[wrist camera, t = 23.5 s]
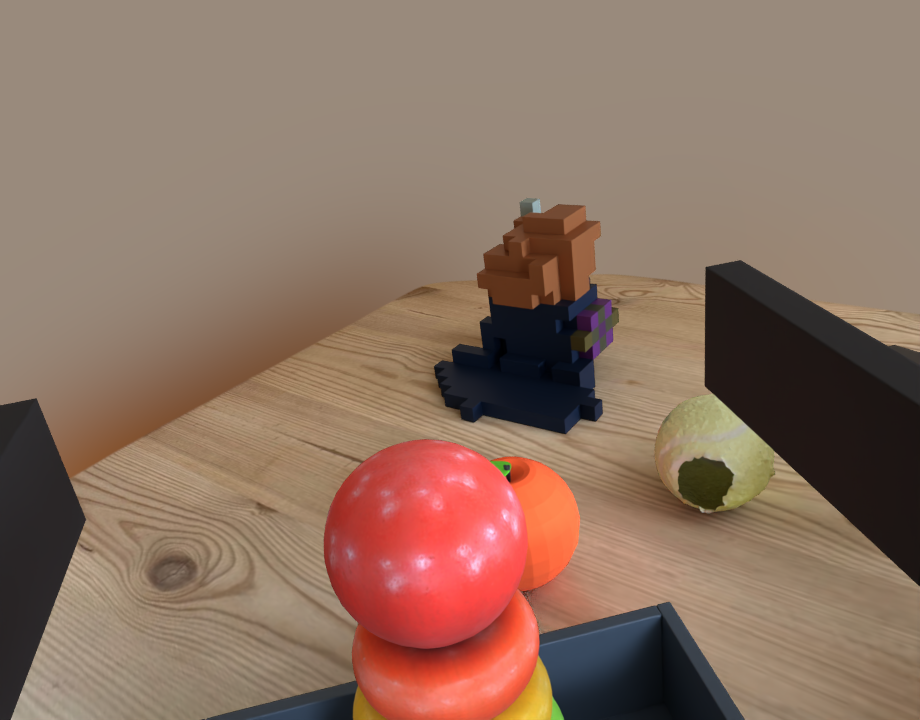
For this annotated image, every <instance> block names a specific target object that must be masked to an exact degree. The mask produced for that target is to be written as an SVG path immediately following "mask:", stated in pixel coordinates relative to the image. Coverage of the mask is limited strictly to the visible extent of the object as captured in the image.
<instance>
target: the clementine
mask: <svg viewBox="0 0 920 720" xmlns="http://www.w3.org/2000/svg"><path fill="white" fill-rule="evenodd" d="M490 462H491V463H492V464H493V465H494V466H496V467H497V468H498V469H499V470H500V471H501V473H502V474H503V475H504V476H505V477H506V479H507V480H508V482H509V483H510V485H511V486H512V488H513V489H514V491H515V493H516V495H517V497H518V499H519V501H520V503H521V506H522V509H523V512H524V515H525V520H526V527H527V537H528V548H527V555H526V563H525V568H524V572H523V575H522V578H521V580H520V583H519V586H518V588H517V589H518V590H519V591H527V590H532V589H535V588H537V587H540V586H543V585H544V584H546V583H548V582H549V581H551V580H552V579H553V578H555V577H556V576H557V575H558V574H559V573H560V572H561V571H562V570H563V569H564V568H565V567H566V566H567V565H568V563H569V561H570V559H571V557H572V555H573V552H574V550H575V548H576V546H577V544H578V535H579V522H580V517H579V513H578V509H577V505H576V502H575V499H574V496H573V494H572V492H571V491H570V489H569V488H568V486H567V484H566V483H565V482H564V481H563V479H562V478H561V477H560V476H559V475H558V474H556V473H555V472H554V471H553V470H551V469H550V468H549V467H547V466H545V465H544V464H542V463H540V462H537V461H534V460H531V459H527V458H521V457H502V458H497V459H494V460H491V461H490Z"/></svg>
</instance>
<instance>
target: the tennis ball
mask: <svg viewBox="0 0 920 720" xmlns="http://www.w3.org/2000/svg"><path fill="white" fill-rule="evenodd" d="M654 451H655V454H654V455H655V462H656V467H657V471H658V474H659V476H660V478H661V480H662V481H663V483H664V485H665V486H666V487H667V488H668V490H669V491H671V492H672V493H673V495H674V496H676V497H677V498H679V499H680V500H681V501H682V503H683V504H685V505H686V504H688V505H690V506H692V507H695V508H699V509H700V511H702V512H703V513H704V512H706V513H711V512H715V511H725V510H730V509H734V508H736V507H739V506H741V505H743V504H745V503H746V502H748V501H751V499H753V498H754V497H755V496H757V495H759V494H760V493H761V491H763V490H764V489H765V487H766V486H767V484H768V482H769V479H770V477H771V476H773V475H775V471H774V468H773V464H774V450H773V449H772V448H771V447H770V446H769V445H767V444H766V443H765V442H764V441H763V440H762V439H761V438H760V437H759V436H758V435H757V434H756V433H755V432H754V431H752V430H751V429H750V428H749V427H748V426H747V425H746V424H745V423H744V422H743V421H742V420H741V419H740V418H738V417H737V416H736V415H735V414H734V413H733V412H732V411H731V410H730V409H729V408H728V407H727V406H726V405H725V404H723V403H722V402H721V401H720V400H719V399H718V398H717V397H716V396H715V395H714V394H710V395H702V396H697V397H693V398H691V399H689V400H686V401H684V402H682V403H680V404H679V405H678V406H677V407H676V408H675V409H674V410H672V412H670V413H669V415H668V416H667V417H666V418H665V420H664V421H663V422H662V424H661V426H660V429H659V431H658V435H657V437H656V443H655V449H654Z"/></svg>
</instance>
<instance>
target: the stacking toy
mask: <svg viewBox="0 0 920 720" xmlns="http://www.w3.org/2000/svg"><path fill="white" fill-rule="evenodd" d="M527 548H528V537H527V527H526V520H525V515H524V512H523V509H522V506H521V503H520V501H519V499H518V497H517V495H516V493H515V491H514V489H513V488H512V486H511V485H510V483H509V482H508V480H507V479H506V477H505V476H504V475H503V474H502V473H501V471H500V470H499V469H498V468H497V467H496V466H494V465H493V464H492V463H491V462H490V461H489V460H488V459H486V458H485V457H483V456H482V455H480V454H479V453H477V452H475V451H473V450H470V449H468V448H466V447H464V446H461V445H458V444H456V443H451V442H446V441H442V440H427V439H424V440H413V441H407V442H403V443H400V444H396V445H393V446H390V447H388V448H386V449H383V450H381V451H379V452H378V453H376V454H374V455H373V456H371V457H369V458H368V459H367V460H365V461H364V462H363V463H362V464H360V465H359V466H358V467H357V468H356V469H355V470H354V471H353V472H352V473H351V474H350V475H349V477H348V478H347V479H346V480H345V481H344V482H343V484H342V485H341V487H340V489H339V490H338V492H337V493H336V495H335V497H334V500H333V502H332V504H331V506H330V509H329V512H328V517H327V521H326V525H325V533H324V559H325V564H326V568H327V573H328V575H329V578H330V582H331V585H332V587H333V589H334V591H335V593H336V595H337V596H338V598H339V600H340V602H341V604H342V606H343V607H344V608H345V609H346V610H347V611H348V613H349V614H350V615H351V616H352V617H353V618H354V619H355V620H356V621H357V622H358V623H359V624H358V626H357V629H356V632H355V636H354V641H353V647H352V663H353V669H354V674H355V678H356V681H357V684H358V687H357V691H356V694H355V699H354V705H353V720H564V718H563V715H562V713H561V710H560V708H559V706H558V705H557V703H556V701H555V700H554V698H553V696H552V689H551V684H550V679H549V676H548V673H547V670H546V668H545V666H544V664H543V662H542V660H541V659H540V657H539V655H538V653H539V629H538V625H537V621H536V618H535V615H534V612H533V610H532V608H531V606H530V605H529V603H528V602H527V600H526V599H525V597H524V596H523V594H522V593H521V592H520V591H519V590H518V589H517V588H518V586H519V583H520V580H521V578H522V575H523V572H524V568H525V563H526V555H527Z"/></svg>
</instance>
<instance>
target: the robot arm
mask: <svg viewBox="0 0 920 720" xmlns="http://www.w3.org/2000/svg"><path fill="white" fill-rule="evenodd" d="M705 280H706V282H705V387H706V388H707V389H708V390H710V391H711V392H712V393H713V394H714V395H715V396H716V397H717V398H718V399H719V400H720V401H721V402H722V403H723V404H725V405H726V406H727V407H728V408H729V409H730V410H731V411H732V412H733V413H734V414H735V415H736V416H737V417H738V418H740V419H741V420H742V421H743V422H744V423H745V424H746V425H747V426H748V427H749V428H750V429H751V430H752V431H754V432H755V433H756V434H757V435H758V436H759V437H760V438H761V439H762V440H763V441H764V442H765V443H766V444H767V445H769V446H770V447H771V448H772V449H773V450H774V451H775V452H776V453H777V454H778V455H779V456H780V457H781V458H782V459H784V460H785V461H786V462H787V463H788V464H789V465H790V466H791V467H792V468H793V469H794V470H795V471H796V472H797V473H799V474H800V475H801V476H802V477H803V478H804V479H805V480H806V481H807V482H808V483H809V484H810V485H811V486H812V487H814V488H815V489H816V490H817V491H818V492H819V493H820V494H821V495H822V496H823V497H824V498H825V499H826V500H828V501H829V502H830V503H831V504H832V505H833V506H834V507H835V508H836V509H837V510H838V511H839V512H840V513H841V514H843V515H844V516H845V517H846V518H847V519H848V520H849V521H850V522H851V523H852V524H853V525H854V526H855V527H856V528H858V529H859V530H860V531H861V532H862V533H863V534H864V535H865V536H866V537H867V538H868V539H869V540H870V541H871V542H873V543H874V544H875V545H876V546H877V547H878V548H879V549H880V550H881V551H882V552H883V553H884V554H885V555H887V556H888V557H889V558H890V559H891V560H892V561H893V562H894V563H895V564H896V565H897V566H898V567H899V568H900V569H902V570H903V571H904V572H905V573H906V574H907V575H908V576H909V577H910V578H911V579H912V580H913V581H914V582H915V583H917V584H918V585H919V586H920V352H916V351H913V350H910V349H906V348H903V347H900V346H896V345H892V346H887V345H885V344H883V343H881V342H880V341H878V340H876V339H875V338H873V337H871V336H869V335H868V334H866V333H864V332H863V331H861V330H859V329H857V328H856V327H854V326H852V325H851V324H849V323H847V322H845V321H844V320H842V319H840V318H839V317H837V316H835V315H833V314H832V313H830V312H828V311H827V310H825V309H823V308H821V307H820V306H818V305H816V304H815V303H813V302H811V301H809V300H808V299H806V298H804V297H803V296H801V295H799V294H797V293H796V292H794V291H792V290H790V289H789V288H787V287H785V286H784V285H782V284H780V283H779V282H777V281H775V280H774V279H772V278H770V277H768V276H766V275H765V274H763V273H761V272H760V271H758V270H756V269H755V268H753V267H751V266H750V265H748V264H746V263H744V262H743V261H741V260H739V261H735V262H729V263H724V264H719V265H714V266H709V267H706V279H705ZM85 521H86V518H85V516H84V513H83V511H82V508H81V506H80V504H79V501H78V499H77V496H76V494H75V491H74V489H73V486H72V484H71V482H70V479H69V477H68V474H67V472H66V469H65V467H64V464H63V462H62V460H61V457H60V455H59V452H58V450H57V448H56V445H55V442H54V440H53V438H52V435H51V433H50V430H49V428H48V425H47V423H46V420H45V418H44V415H43V413H42V411H41V408H40V406H39V403H38V401H37V399H31V400H26V401H21V402H16V403H11V404H6V405H0V720H11V717H12V715H13V712H14V709H15V707H16V704H17V701H18V699H19V696H20V693H21V691H22V688H23V685H24V683H25V680H26V677H27V675H28V672H29V669H30V667H31V664H32V661H33V659H34V656H35V654H36V651H37V648H38V646H39V643H40V640H41V638H42V635H43V632H44V630H45V627H46V624H47V622H48V619H49V616H50V614H51V611H52V608H53V606H54V603H55V600H56V598H57V595H58V592H59V590H60V587H61V584H62V582H63V579H64V576H65V574H66V571H67V569H68V566H69V563H70V561H71V558H72V555H73V553H74V550H75V547H76V545H77V542H78V539H79V537H80V534H81V531H82V529H83V526H84V523H85Z"/></svg>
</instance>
